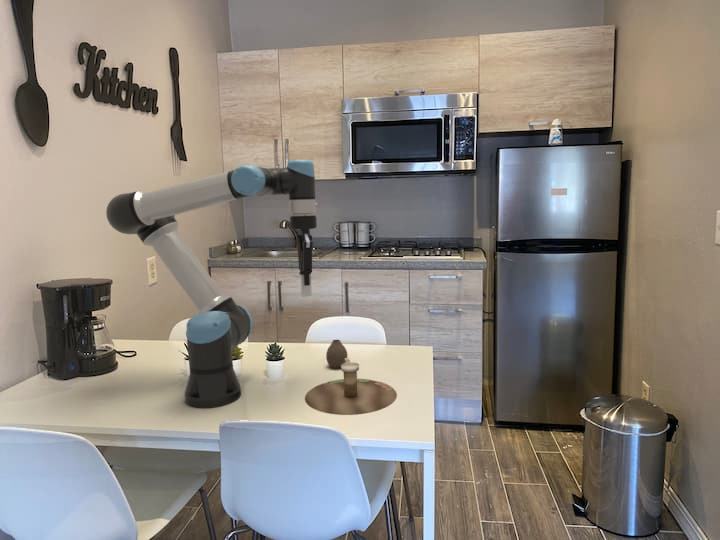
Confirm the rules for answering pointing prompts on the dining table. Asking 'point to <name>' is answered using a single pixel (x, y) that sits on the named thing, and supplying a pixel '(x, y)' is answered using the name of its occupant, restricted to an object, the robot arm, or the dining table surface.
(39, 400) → the dining table surface
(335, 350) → the vase
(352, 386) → the peg lever
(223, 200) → the robot arm
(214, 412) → the dining table surface
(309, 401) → the brown wooden flat disc
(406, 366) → the dining table surface
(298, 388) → the dining table surface
